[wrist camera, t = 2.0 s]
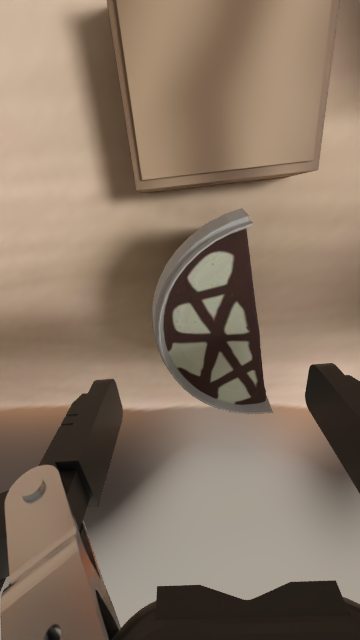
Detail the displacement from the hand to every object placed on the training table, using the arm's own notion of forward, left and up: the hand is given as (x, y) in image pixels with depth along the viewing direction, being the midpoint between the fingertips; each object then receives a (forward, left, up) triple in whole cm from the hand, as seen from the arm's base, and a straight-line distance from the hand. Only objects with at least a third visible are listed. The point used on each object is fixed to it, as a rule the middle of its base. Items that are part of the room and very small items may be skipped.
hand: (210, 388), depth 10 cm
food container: (0, 0, -13) cm, 13 cm away
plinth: (-2, -13, -13) cm, 19 cm away
